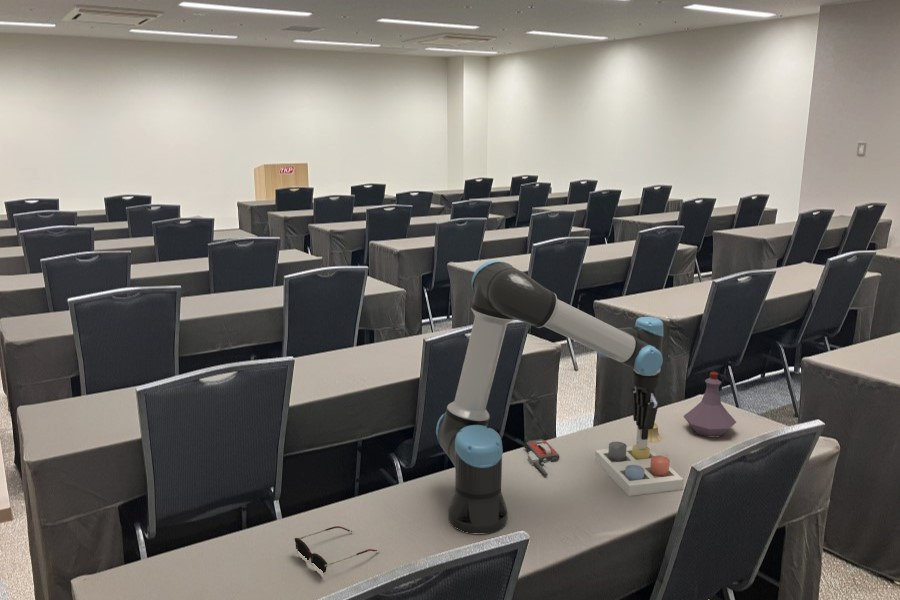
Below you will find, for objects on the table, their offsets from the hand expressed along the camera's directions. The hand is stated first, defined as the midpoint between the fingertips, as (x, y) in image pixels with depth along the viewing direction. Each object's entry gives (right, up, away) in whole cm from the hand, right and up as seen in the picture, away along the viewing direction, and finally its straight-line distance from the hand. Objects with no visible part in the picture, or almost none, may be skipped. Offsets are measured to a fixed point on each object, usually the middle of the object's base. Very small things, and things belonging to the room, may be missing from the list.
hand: (641, 447), depth 220 cm
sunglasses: (-82, -18, -41) cm, 93 cm away
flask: (+28, 0, +25) cm, 38 cm away
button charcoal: (-7, -3, -1) cm, 8 cm away
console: (-3, -7, -5) cm, 9 cm away
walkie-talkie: (-28, -5, +5) cm, 29 cm away
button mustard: (0, -4, +1) cm, 4 cm away
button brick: (+2, -5, -10) cm, 11 cm away
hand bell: (+7, -2, +19) cm, 20 cm away
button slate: (-5, -7, -11) cm, 14 cm away
